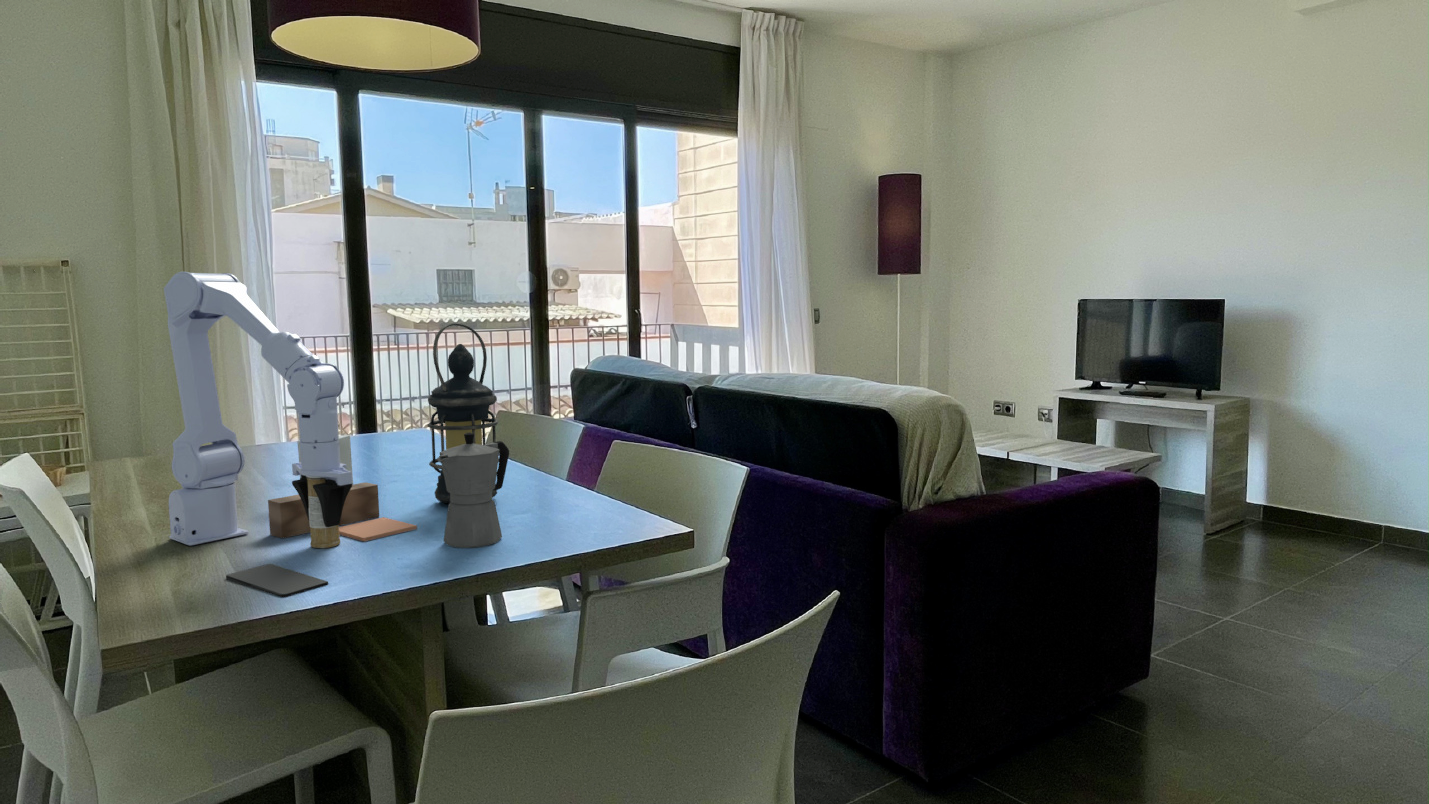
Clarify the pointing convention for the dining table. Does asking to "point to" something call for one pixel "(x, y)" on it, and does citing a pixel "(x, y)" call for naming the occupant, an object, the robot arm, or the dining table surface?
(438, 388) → the lantern
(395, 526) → the pad
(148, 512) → the dining table surface
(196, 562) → the dining table surface
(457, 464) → the coffeepot
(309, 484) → the sprinkles bottle
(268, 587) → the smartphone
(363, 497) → the long brown wooden block
